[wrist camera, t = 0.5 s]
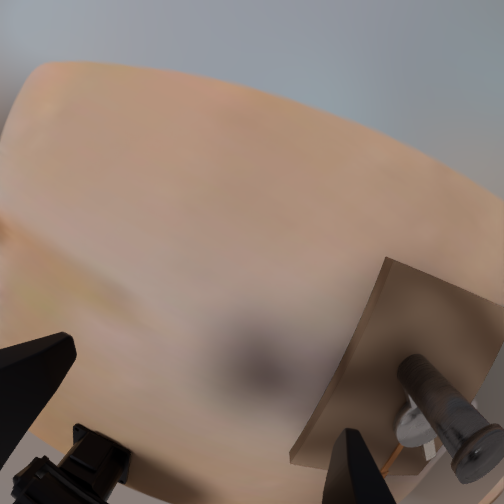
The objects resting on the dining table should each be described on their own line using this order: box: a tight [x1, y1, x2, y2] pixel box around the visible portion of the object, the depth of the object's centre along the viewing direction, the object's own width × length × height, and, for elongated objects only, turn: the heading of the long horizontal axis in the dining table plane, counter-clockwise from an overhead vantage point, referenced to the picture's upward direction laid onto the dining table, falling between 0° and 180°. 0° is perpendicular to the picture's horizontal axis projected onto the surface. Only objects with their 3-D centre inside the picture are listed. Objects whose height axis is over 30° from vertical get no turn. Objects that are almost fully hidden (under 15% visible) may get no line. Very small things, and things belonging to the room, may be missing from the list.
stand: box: [289, 257, 504, 478], centre depth 20 cm, size 19×14×2 cm
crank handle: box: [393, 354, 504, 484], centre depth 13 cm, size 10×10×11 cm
